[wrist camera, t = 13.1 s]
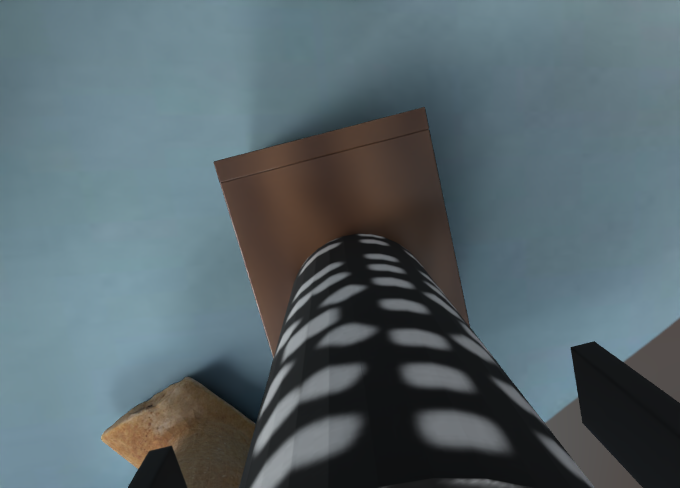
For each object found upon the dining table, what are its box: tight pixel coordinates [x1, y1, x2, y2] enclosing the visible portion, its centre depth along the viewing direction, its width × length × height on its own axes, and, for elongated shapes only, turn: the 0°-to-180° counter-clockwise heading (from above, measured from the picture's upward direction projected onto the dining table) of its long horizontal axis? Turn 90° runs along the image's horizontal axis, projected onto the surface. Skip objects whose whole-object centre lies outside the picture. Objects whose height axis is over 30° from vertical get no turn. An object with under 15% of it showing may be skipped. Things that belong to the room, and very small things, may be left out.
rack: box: [214, 107, 470, 358], centre depth 33 cm, size 12×20×12 cm, turn 14°
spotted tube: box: [239, 234, 594, 488], centre depth 18 cm, size 8×8×20 cm
